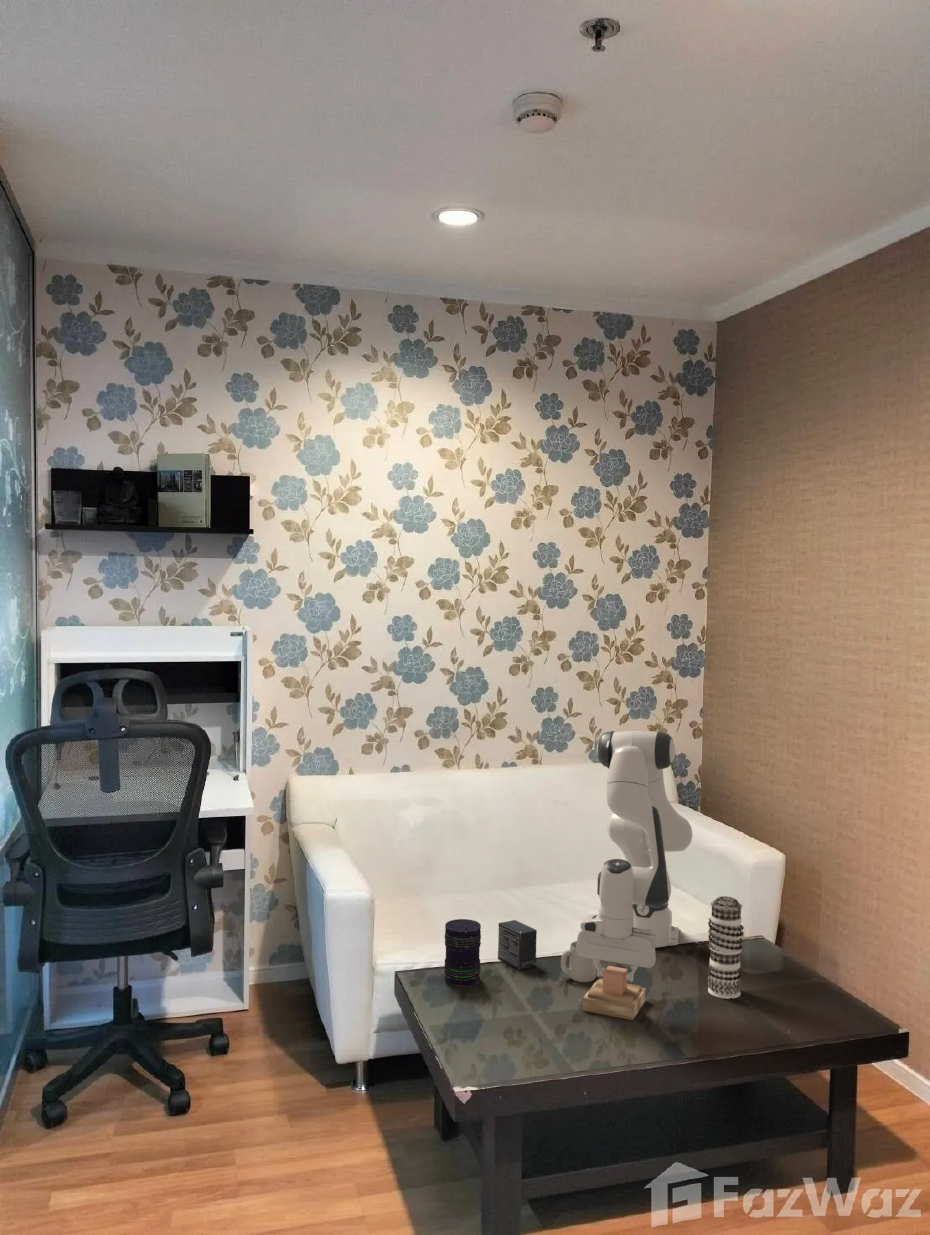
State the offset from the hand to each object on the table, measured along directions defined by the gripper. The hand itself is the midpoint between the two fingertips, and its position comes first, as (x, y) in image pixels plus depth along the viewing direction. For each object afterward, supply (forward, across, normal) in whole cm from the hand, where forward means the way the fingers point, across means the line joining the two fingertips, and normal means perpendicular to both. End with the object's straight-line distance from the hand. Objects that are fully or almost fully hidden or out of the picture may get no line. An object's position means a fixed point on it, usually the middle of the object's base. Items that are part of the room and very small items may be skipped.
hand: (615, 978), depth 258 cm
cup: (+7, +14, -13) cm, 20 cm away
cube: (+3, 0, 0) cm, 3 cm away
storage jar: (+7, +42, +2) cm, 43 cm away
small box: (+7, +33, -16) cm, 37 cm away
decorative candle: (+7, -24, -21) cm, 33 cm away
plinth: (+7, 0, 0) cm, 7 cm away
